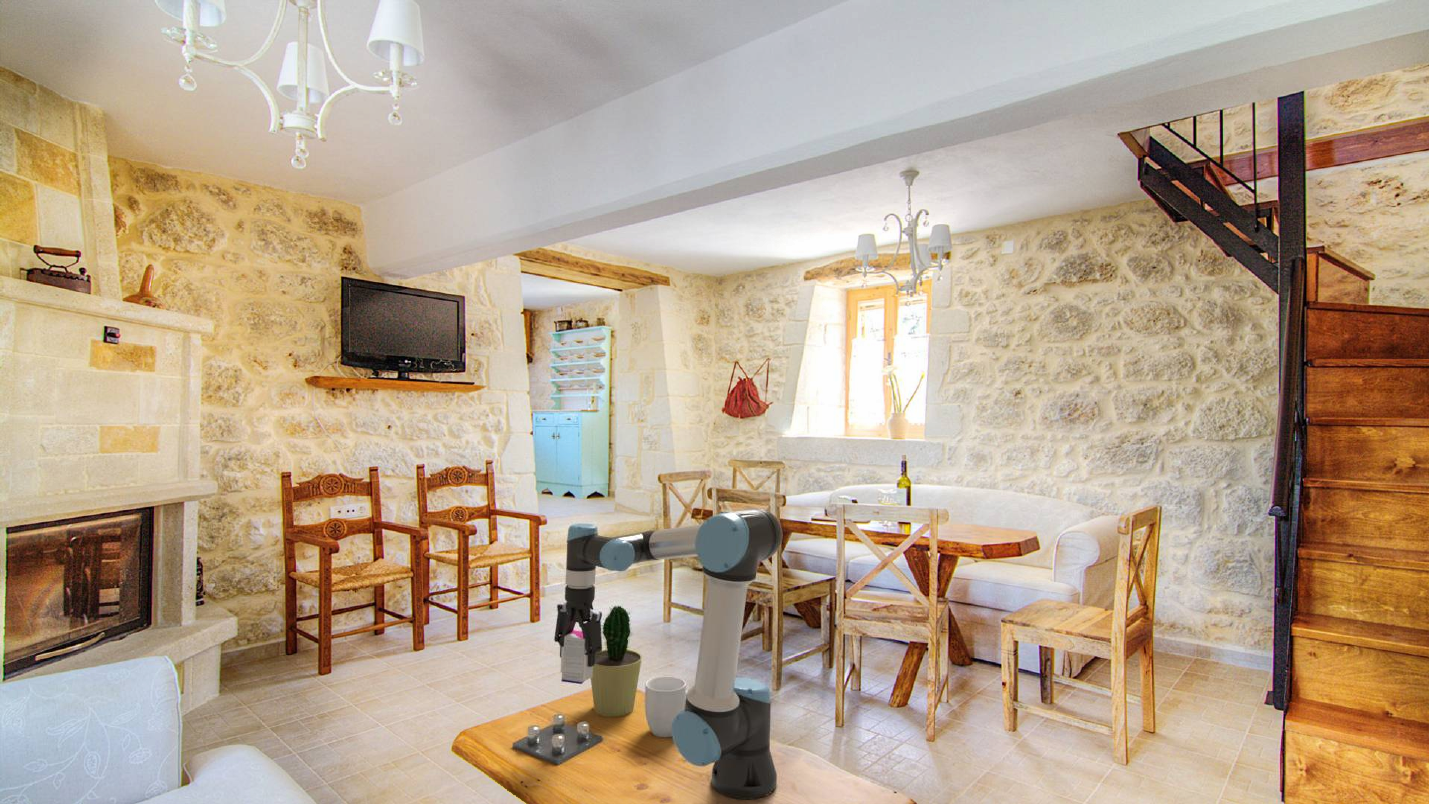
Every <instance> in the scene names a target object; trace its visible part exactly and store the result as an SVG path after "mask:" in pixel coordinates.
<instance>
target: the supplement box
mask: <svg viewBox="0 0 1429 804" xmlns="http://www.w3.org/2000/svg"><path fill="white" fill-rule="evenodd" d="M585 653H587V652H586V647H585V639H584V638H583V634H582V630H581V631H580V630H573V631H572V632H570V633H569V634H567V635H566V636H565V637H564V651H563V667H562V673H561V682H562V683H570V684H578V685H582V684H583V683H584V682H585V681H586V680H583V666H584V654H585Z"/></svg>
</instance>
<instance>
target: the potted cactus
mask: <svg viewBox="0 0 1429 804" xmlns="http://www.w3.org/2000/svg"><path fill="white" fill-rule="evenodd" d="M622 606H623V604H621V605H614V606H612V605H611V607H609V610H608V611H607V614H606V613H605V618H603V620H604V622H602V624H601V627H602V628H601V637H602V639H604V642H603V644H604V648H605V649H602V651H600V652H597V653H595V665H594V666H593V677H592V678H590V683H591V692H592V701H593V702H592V703H593V708H594V709H593V710H594V713H596V714H598V715H600V716H602V717H608V718H610V717H611V718H615V717H617V718H618V717H623V716H627V715H628V714H631V713H632V712H633V711H634V709H635V702H636V697H637V689H638V683H639V676H640V670H641V665H642V658H643V657H642V654H641V653H639V652H638V651H635V650H630V649H629V648H628V647H629V641H630V637H632V635H634V634H633V632H632V631H631V630H633V629H632V628H631V623H630V622H631V621H633V620H632V619H631V618H630V616H629V615H630V614H631V613H632V611H629V610H626V608H624V607H622Z"/></svg>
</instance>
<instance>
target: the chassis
mask: <svg viewBox="0 0 1429 804" xmlns="http://www.w3.org/2000/svg"><path fill="white" fill-rule="evenodd" d="M565 717H566V716H565V714H564V713H555V714H553V716H552V724H550V725H548V726H546V727H544V728H541V727H540V725H537V724H533V725H532V724H531V725H530V726H528V727H527V731H526V732H527V735H526V736H525V737H522V738H520V739H519V740H517V741H513V742H512V748H514V749H516V750H518V751H521V752H524V753H525V754H526V753H527V754H529V755H531V756H534V757H536V758H539V759H541V760H544V761H547V762H549V763H552V764H554V765H557V766H558V765H560V764H562V763H564V762H566V761H568V760H569V759H572V758H573V757H575V756H577V755H579V754H581V753H583V752H584V751H586V750H588V749H590V748H591V747H593V746H595V745H597V744H600V743H601V742H602V741H603V739H604V737H603V736H602V735H599V734H596V733H593V732H590V723H589V722H587V721H581V722H578V723H577V724H576V725H577V726H574V725H571V724H568V723H565V719H566V718H565Z"/></svg>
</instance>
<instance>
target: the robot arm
mask: <svg viewBox="0 0 1429 804" xmlns="http://www.w3.org/2000/svg"><path fill="white" fill-rule="evenodd" d="M567 529H568V530H567V537H566V563H565V565H566V568H565V585H566V586H565V588H564V600H565V601H566V602H563V603H562V602H561V603H559V604H557V605H556V610H557V611H556V612H557V616H556V624H555V632H554V638H553V640H554V642H555V643H558V644H559V658H560V673H561V674H562V667H563V651H564V637H565V636H566V635H567V634H569V633H570V632H572V631H573V630H574V629H575V627H576V624H577V623H578V627H579V628H580V630H581V631H582V634H583V638H584V639H585V647H586V652H587V653H585V654H584V666H583V680H585V681H588V680H589V679H590V680H591V678H592V677H593V666H594V665H595V653H597V652H600V651H602V650H603V641H602V640H603V636H602V633H601V632H602V626H601V625H602V622H601V621H602V617H603V613H602V611H596V610H594V606H593V602H594V601H595V599H596V586H595V583H596V570H597V568H602V569H605V570H606V569H607V570H608V571H611V572H612V571H613V572H625V571H627V570H628V569H629V568H630V567H631V566H632V565H634V564H639V563H644V562H650V561H651V562H652V561H660V560H669V559H670V560H671V559H680V558H691V557H698V558H697V559H698V561H699V563H700V564H701V566H702V570H701V571H702V573H703V575H704V576H705V577H706V579H707V580H708V581H707V587H706V594H705V602H704V611H703V618H702V628H701V634H700V641H699V642H700V643H699V649H698V658H697V667H696V674H695V682H694V685H693V686H691V687H690V688H689V689H687V690H686V691H687V695H686V703H685V709H684V711H681V712H680V713H679V714H678V715H677V716H676V717H675V718H674V720H673V723H672V737H671V738H672V740H673V743H674V746H675V747H676V748H677V751H678V753H679V754H680V756H682V758H683V759H684V760H685V761H687V762H688V763H689V764H690V765H693V766H696V767H707V766H708V765H710V764H713V766H712V768H711V769H712V770H711V785H712V787H713V789H715V790H716V791H717V792H718V793H720V794H722V795H723V796H726V797H729V798H734V799H738V798H739V799H738V800H751V799H750V798H756V799H760V798H759V797H761V798H763V797H762V796H764V797H766V796H768V795H770V794H771V793H770V792H772V791H773V790H774V789H775V790H776V787H777V781H778V779H777V778H778V776H777V775H778V774H777V769H776V767H775V763H774V761H773V757H772V753H771V746H770V745H771V743H770V742H771V741H770V740H771V704H772V700H771V689H770V688H769V686H768V685H767V684H766V683H764V682H762V681H760V680H757V679H753V678H748V677H747V678H746V677H737V670H738V661H739V655H740V646H741V639H742V631H743V625H744V616H745V607H746V600H747V594H748V587H749V585H751V583H753V582H754V581H756V579H757V572H758V565H759V562H762V561H765V560H768V559H770V558H771V557H772V556H774V555H775V554H776V553H777V551H778V550H779V549H780V546H781V545H782V541H783V537H784V536H783V534H784V533H783V528H782V525H781V522H780V521H779V519H778V518H777V517H776V516H775V514H773V513H772V512H770V511H768V510H766V509H763V508H758V507H757V508H749V509H742V510H737V511H736V510H735V511H723V512H720V513H718V514H715V515H711V516H710V517H709V518H707V519H706V520H705V521H703V523H701V524H694V525H688V526H687V525H686V526H680V527H673V528H672V527H671V528H665V529H658V530H647V531H644V532H642V531H641V532H636V533H631V534H625V535H624V534H623V535H617V536H613V537H612V536H604V535H600V534H599V532H598V526H597V525H596V524H592V523H575V524H572V525H570V526H569V527H568V528H567ZM775 790H774V791H775ZM774 791H773V792H774ZM773 792H772V793H773ZM769 793H770V794H769ZM767 794H768V795H767ZM765 795H766V796H765Z"/></svg>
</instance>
